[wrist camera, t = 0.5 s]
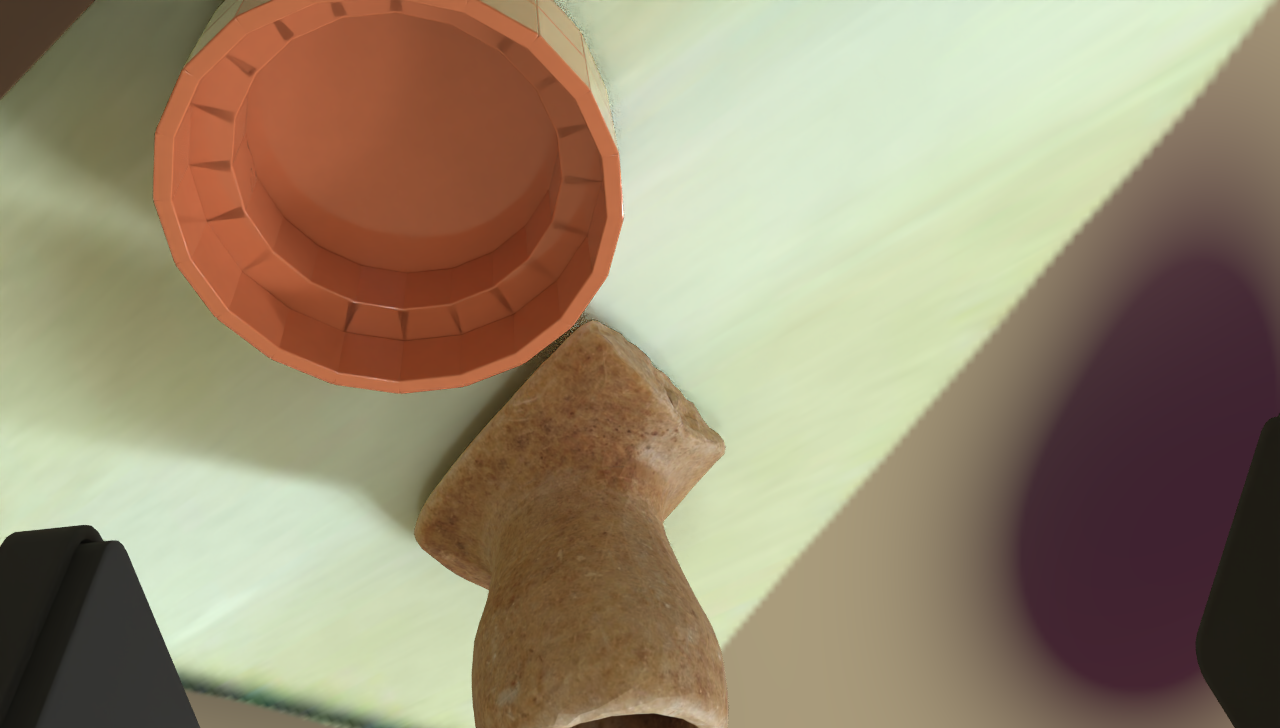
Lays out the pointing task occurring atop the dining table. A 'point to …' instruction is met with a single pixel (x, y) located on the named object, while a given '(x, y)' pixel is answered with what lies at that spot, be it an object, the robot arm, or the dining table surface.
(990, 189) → the dining table surface
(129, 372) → the dining table surface
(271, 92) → the bowl
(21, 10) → the utensil stand
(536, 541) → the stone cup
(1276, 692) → the robot arm
